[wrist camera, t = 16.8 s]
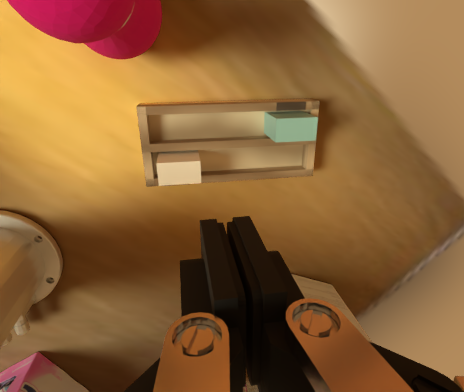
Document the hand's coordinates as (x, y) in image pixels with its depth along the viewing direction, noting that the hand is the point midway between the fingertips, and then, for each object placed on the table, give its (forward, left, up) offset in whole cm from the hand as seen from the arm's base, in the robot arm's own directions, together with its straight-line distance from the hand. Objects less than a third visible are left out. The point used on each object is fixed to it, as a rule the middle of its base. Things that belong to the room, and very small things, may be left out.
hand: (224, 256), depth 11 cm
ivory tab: (-3, +2, -24) cm, 24 cm away
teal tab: (0, -9, -24) cm, 26 cm away
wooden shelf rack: (-2, -4, -25) cm, 25 cm away
